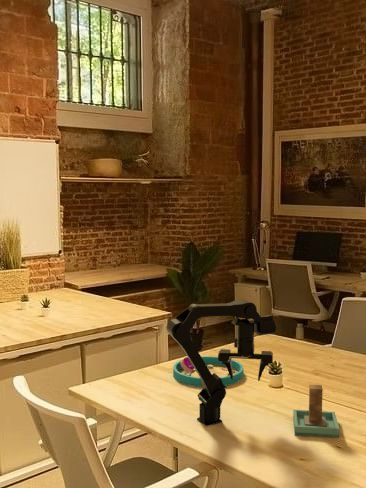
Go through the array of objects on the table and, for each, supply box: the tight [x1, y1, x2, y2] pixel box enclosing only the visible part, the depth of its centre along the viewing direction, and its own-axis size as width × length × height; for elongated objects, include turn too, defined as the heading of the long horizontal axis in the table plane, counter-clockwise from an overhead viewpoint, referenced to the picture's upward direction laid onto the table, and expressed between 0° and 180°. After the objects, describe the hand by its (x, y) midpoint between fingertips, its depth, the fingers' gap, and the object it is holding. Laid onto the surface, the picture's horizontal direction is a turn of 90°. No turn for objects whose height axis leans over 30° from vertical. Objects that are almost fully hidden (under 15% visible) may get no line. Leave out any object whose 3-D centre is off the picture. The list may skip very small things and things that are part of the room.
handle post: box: [304, 384, 327, 427], centre depth 189 cm, size 7×7×13 cm
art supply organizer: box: [172, 355, 245, 388], centre depth 243 cm, size 30×30×6 cm
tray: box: [292, 409, 340, 439], centre depth 190 cm, size 14×14×3 cm
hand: (245, 380), depth 198 cm, fingers open, 9 cm apart
